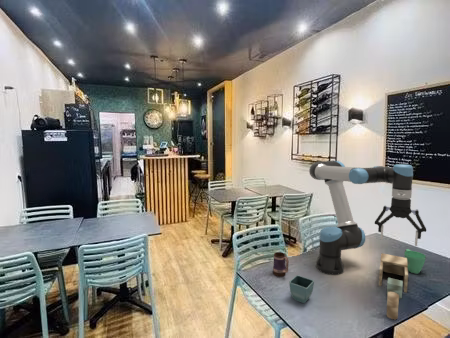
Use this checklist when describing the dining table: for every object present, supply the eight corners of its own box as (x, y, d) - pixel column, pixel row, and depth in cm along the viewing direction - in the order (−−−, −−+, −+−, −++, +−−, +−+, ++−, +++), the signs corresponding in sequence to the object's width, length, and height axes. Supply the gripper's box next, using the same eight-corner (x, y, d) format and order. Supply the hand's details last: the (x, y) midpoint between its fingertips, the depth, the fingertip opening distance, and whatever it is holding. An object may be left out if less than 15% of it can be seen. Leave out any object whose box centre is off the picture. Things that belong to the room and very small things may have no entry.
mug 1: (270, 272, 150) (270, 252, 148) (280, 269, 153) (280, 249, 151) (281, 281, 141) (282, 259, 139) (292, 278, 144) (292, 256, 142)
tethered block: (383, 316, 112) (384, 294, 111) (387, 288, 132) (388, 269, 131) (400, 321, 109) (401, 299, 107) (402, 292, 129) (403, 273, 128)
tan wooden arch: (378, 285, 135) (379, 267, 134) (380, 269, 151) (381, 253, 150) (406, 292, 129) (408, 273, 128) (405, 275, 145) (406, 257, 144)
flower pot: (296, 291, 131) (296, 274, 130) (314, 298, 125) (314, 280, 124) (288, 300, 124) (288, 282, 123) (306, 307, 119) (307, 288, 118)
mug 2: (428, 276, 143) (429, 259, 142) (408, 275, 145) (409, 257, 144) (414, 264, 158) (415, 247, 156) (396, 262, 160) (397, 246, 158)
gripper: (369, 196, 127) (367, 238, 129) (436, 203, 113) (432, 250, 115) (371, 193, 133) (369, 234, 135) (434, 199, 119) (431, 245, 121)
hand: (398, 242), depth 125 cm, fingers open, 13 cm apart
